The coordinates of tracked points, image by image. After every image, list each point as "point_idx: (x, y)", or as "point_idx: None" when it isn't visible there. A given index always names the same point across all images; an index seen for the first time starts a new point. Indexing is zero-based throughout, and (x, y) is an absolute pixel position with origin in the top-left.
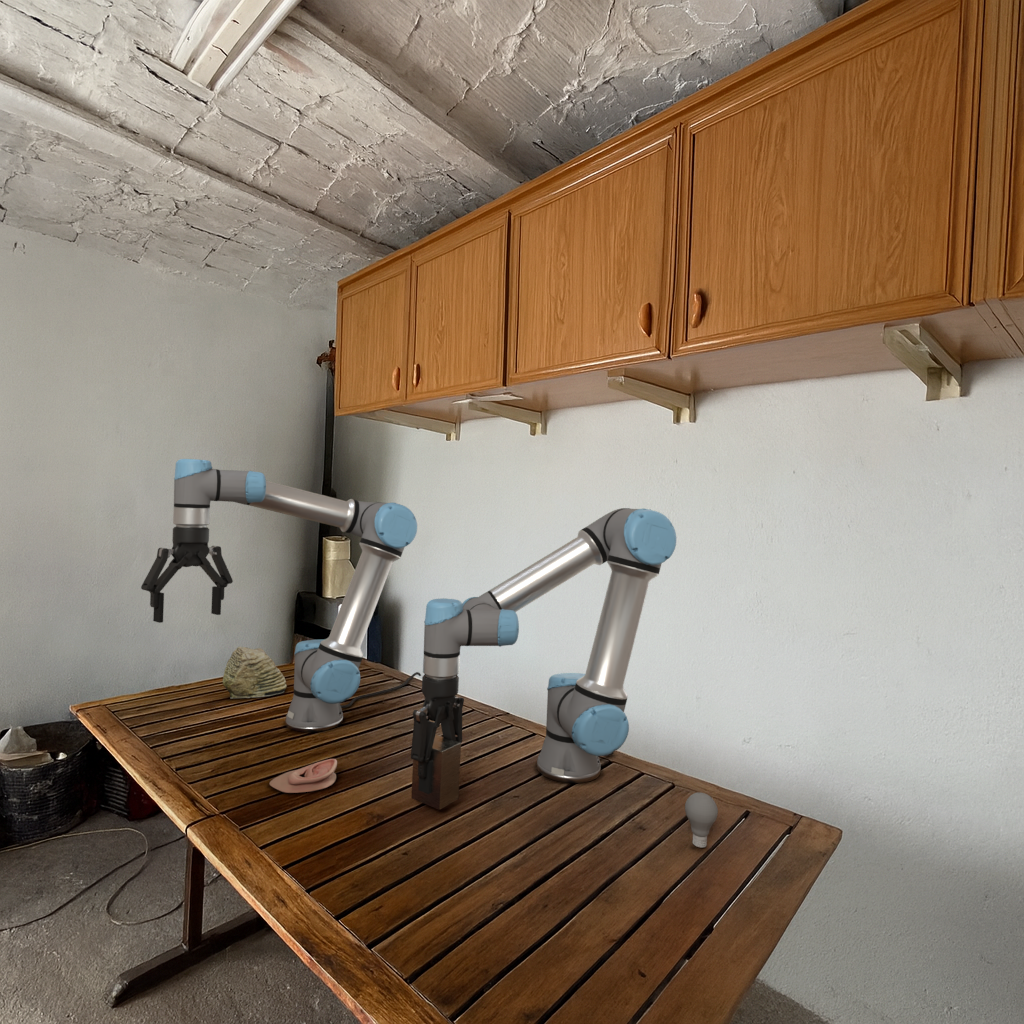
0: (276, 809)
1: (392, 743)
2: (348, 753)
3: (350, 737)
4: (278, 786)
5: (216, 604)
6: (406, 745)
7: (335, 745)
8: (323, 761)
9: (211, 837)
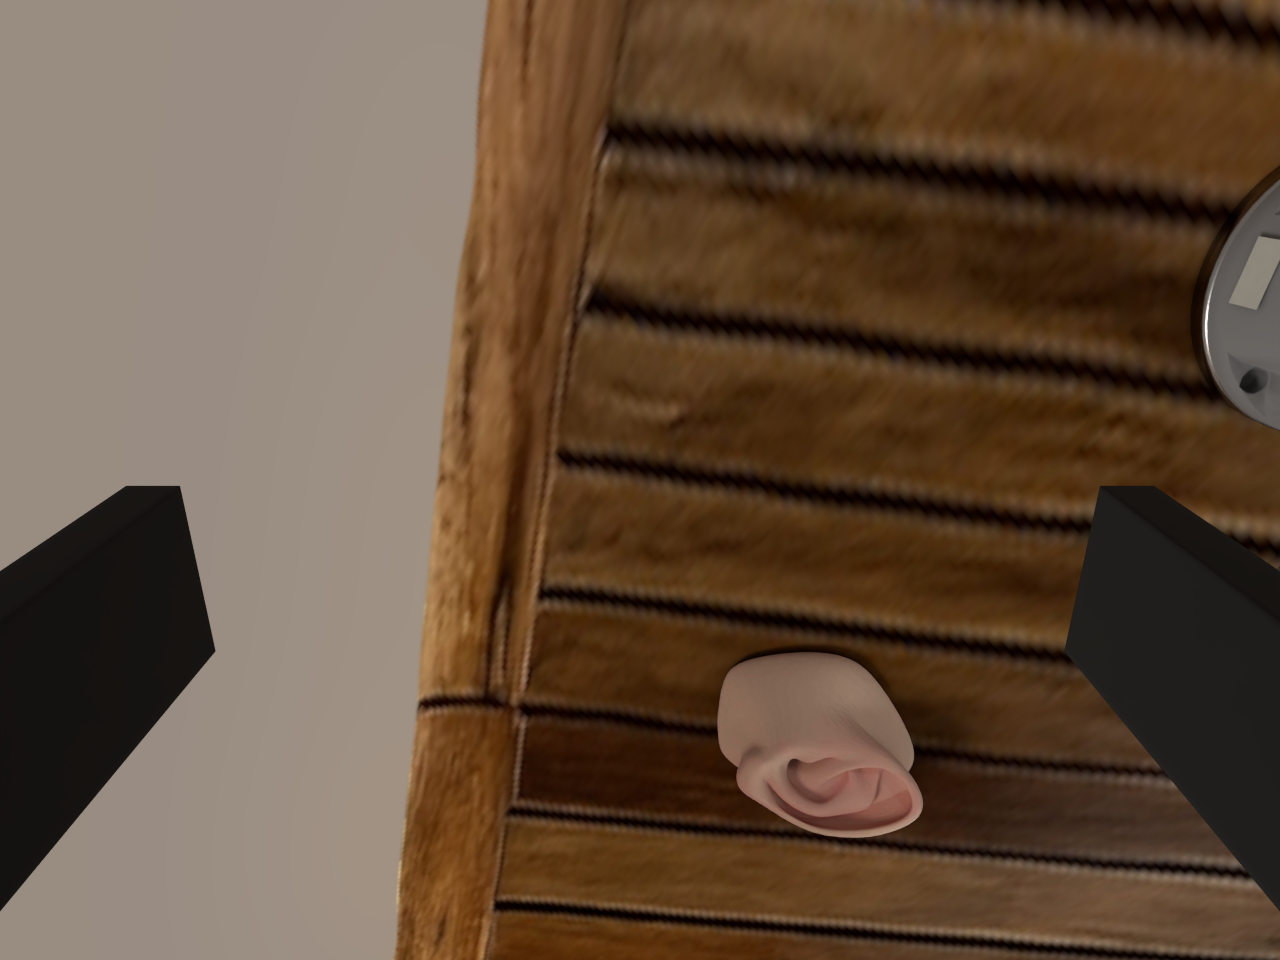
0: (640, 796)
1: None
2: None
3: None
4: (724, 722)
5: (1168, 714)
6: None
7: None
8: (897, 774)
9: (435, 793)
